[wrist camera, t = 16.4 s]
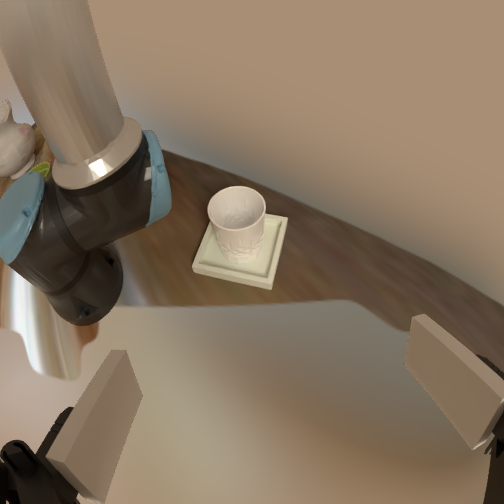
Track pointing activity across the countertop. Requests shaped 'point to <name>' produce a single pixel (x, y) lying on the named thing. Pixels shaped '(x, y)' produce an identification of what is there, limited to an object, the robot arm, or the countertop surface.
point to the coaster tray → (249, 273)
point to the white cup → (238, 222)
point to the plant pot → (43, 169)
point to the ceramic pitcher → (15, 145)
